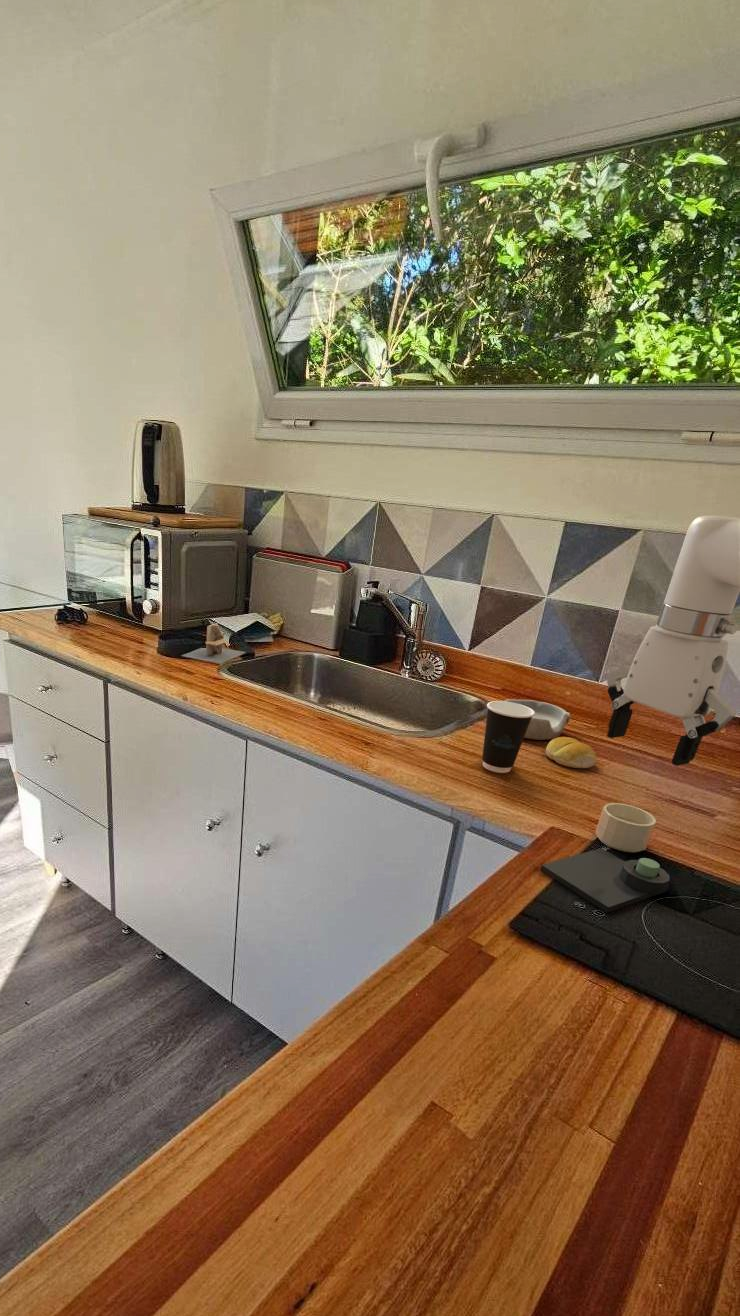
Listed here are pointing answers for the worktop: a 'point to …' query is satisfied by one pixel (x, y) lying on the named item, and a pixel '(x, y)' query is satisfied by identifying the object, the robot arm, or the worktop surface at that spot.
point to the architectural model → (214, 648)
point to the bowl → (625, 827)
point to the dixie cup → (504, 734)
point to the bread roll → (571, 753)
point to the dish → (544, 720)
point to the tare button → (647, 867)
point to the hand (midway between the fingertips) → (646, 749)
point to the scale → (606, 879)
